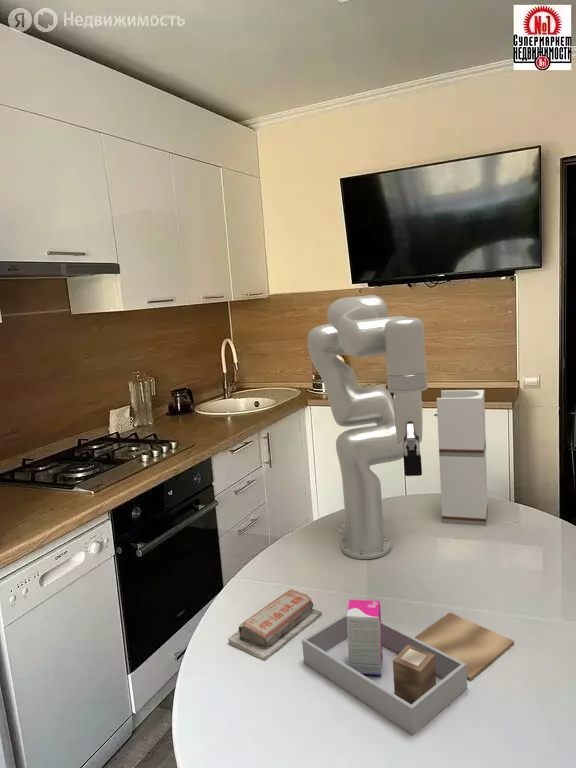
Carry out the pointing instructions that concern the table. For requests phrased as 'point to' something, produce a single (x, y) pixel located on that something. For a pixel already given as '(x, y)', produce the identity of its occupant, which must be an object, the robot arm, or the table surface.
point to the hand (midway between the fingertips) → (412, 467)
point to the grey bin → (376, 695)
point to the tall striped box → (462, 456)
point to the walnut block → (413, 673)
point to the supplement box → (364, 637)
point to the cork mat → (466, 642)
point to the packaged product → (275, 624)
